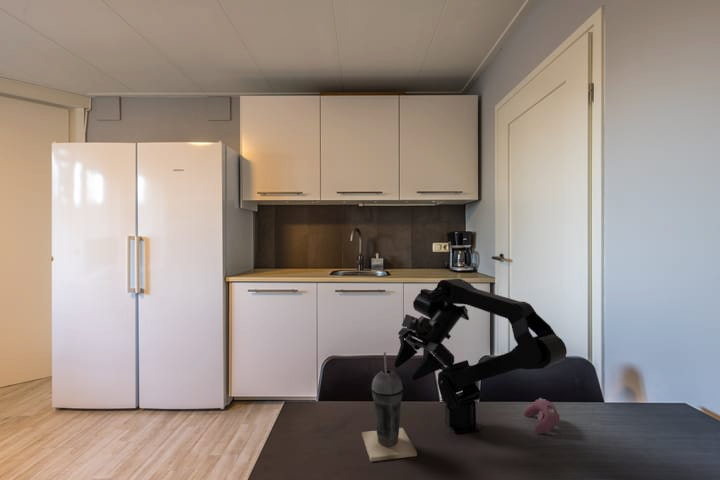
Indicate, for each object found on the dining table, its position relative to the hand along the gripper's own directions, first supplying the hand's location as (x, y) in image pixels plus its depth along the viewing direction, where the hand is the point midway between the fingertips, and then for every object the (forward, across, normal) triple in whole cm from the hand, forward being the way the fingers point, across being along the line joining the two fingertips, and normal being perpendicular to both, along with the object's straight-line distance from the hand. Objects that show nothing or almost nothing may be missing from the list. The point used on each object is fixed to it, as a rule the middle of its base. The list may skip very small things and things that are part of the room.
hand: (403, 372), depth 83 cm
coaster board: (+14, +5, +5) cm, 16 cm away
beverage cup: (+14, +4, +5) cm, 15 cm away
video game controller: (-13, +10, +33) cm, 37 cm away
